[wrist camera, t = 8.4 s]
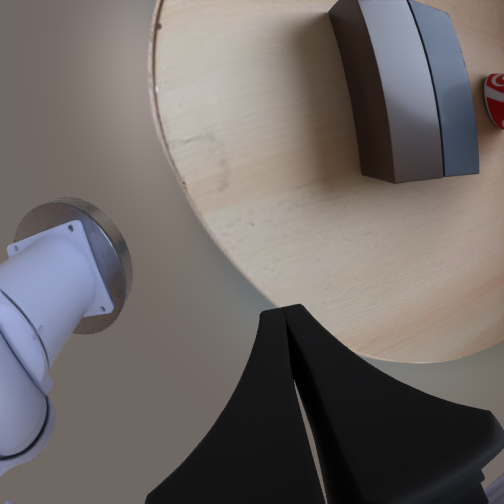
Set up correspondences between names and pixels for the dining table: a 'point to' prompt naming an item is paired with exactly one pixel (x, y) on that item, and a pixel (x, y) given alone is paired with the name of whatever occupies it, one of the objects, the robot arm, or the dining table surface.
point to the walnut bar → (389, 90)
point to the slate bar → (449, 90)
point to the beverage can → (495, 98)
